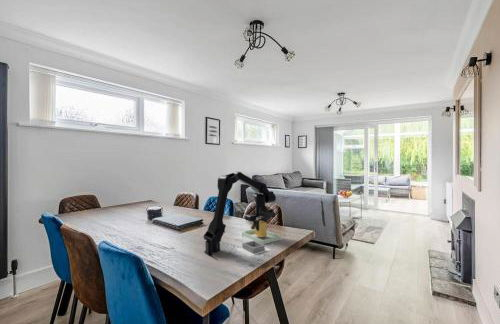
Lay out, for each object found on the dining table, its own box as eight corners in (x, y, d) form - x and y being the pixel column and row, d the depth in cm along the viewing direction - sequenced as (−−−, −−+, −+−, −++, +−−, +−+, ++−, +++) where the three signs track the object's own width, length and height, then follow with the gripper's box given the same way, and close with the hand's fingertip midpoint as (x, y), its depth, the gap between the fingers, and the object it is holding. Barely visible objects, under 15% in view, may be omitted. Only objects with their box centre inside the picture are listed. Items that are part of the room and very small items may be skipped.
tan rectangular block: (261, 237, 146) (261, 223, 146) (255, 234, 151) (254, 221, 151) (266, 235, 148) (266, 222, 148) (260, 233, 153) (260, 220, 153)
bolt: (252, 233, 166) (260, 227, 179) (258, 230, 164) (266, 224, 177) (247, 225, 167) (256, 219, 180) (253, 222, 165) (262, 216, 178)
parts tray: (262, 246, 137) (262, 240, 137) (241, 236, 154) (241, 231, 154) (280, 241, 145) (280, 235, 145) (259, 232, 162) (259, 227, 162)
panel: (249, 258, 121) (249, 250, 121) (235, 250, 131) (235, 244, 131) (271, 251, 130) (271, 244, 129) (257, 244, 139) (257, 238, 139)
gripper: (256, 208, 137) (256, 236, 138) (281, 204, 148) (281, 230, 148) (244, 205, 146) (244, 231, 147) (269, 201, 157) (269, 226, 157)
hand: (260, 230), depth 150 cm, fingers closed on tan rectangular block, 4 cm apart
